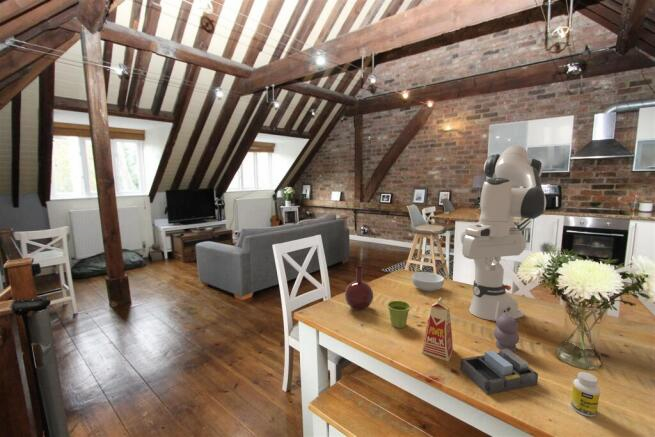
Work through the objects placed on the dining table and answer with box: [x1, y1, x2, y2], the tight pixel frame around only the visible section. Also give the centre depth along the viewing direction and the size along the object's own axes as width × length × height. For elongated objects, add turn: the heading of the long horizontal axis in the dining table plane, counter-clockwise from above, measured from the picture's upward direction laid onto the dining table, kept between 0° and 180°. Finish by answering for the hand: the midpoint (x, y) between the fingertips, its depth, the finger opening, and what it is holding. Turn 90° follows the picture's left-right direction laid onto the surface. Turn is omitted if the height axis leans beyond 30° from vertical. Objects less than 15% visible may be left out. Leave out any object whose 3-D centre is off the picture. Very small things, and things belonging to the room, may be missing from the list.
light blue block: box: [484, 350, 513, 377], centre depth 96 cm, size 3×8×5 cm, turn 13°
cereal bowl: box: [411, 271, 445, 292], centre depth 168 cm, size 17×17×7 cm
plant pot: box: [387, 300, 412, 329], centre depth 129 cm, size 9×9×9 cm
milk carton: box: [421, 296, 454, 362], centre depth 109 cm, size 9×9×20 cm
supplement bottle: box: [570, 371, 601, 418], centre depth 82 cm, size 5×5×10 cm
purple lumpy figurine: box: [493, 312, 520, 353], centre depth 111 cm, size 8×8×12 cm
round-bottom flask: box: [344, 266, 374, 311], centre depth 144 cm, size 13×13×20 cm
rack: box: [459, 349, 539, 395], centre depth 96 cm, size 12×18×6 cm
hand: (491, 269), depth 102 cm, fingers closed
